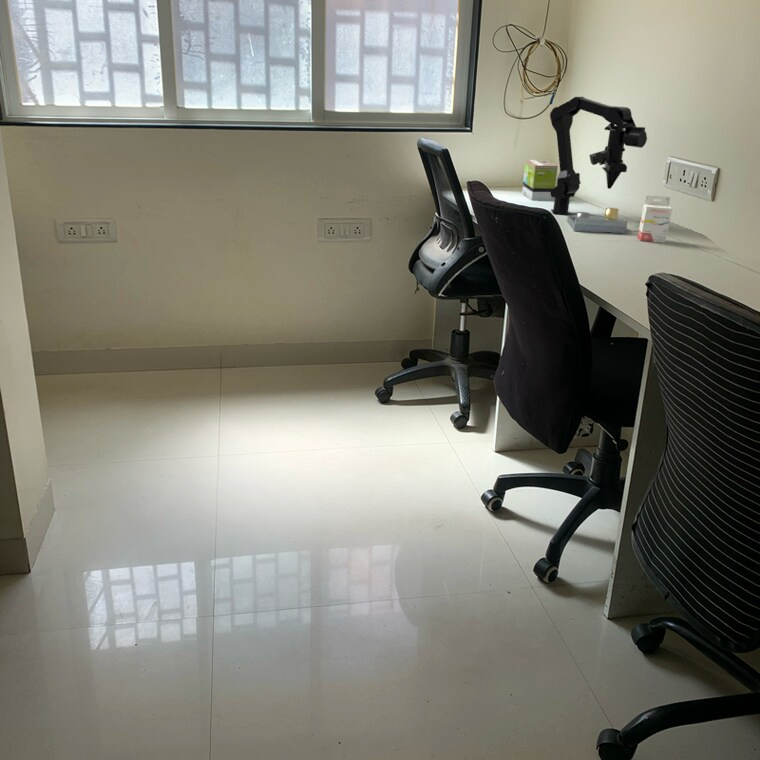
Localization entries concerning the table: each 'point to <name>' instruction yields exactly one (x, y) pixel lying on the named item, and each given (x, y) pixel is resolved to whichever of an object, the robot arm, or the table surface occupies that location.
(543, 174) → the tea box
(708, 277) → the table surface
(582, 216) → the steel bushing
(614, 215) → the cylinder
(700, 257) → the table surface
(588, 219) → the jig plate
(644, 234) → the ink cartridge box
